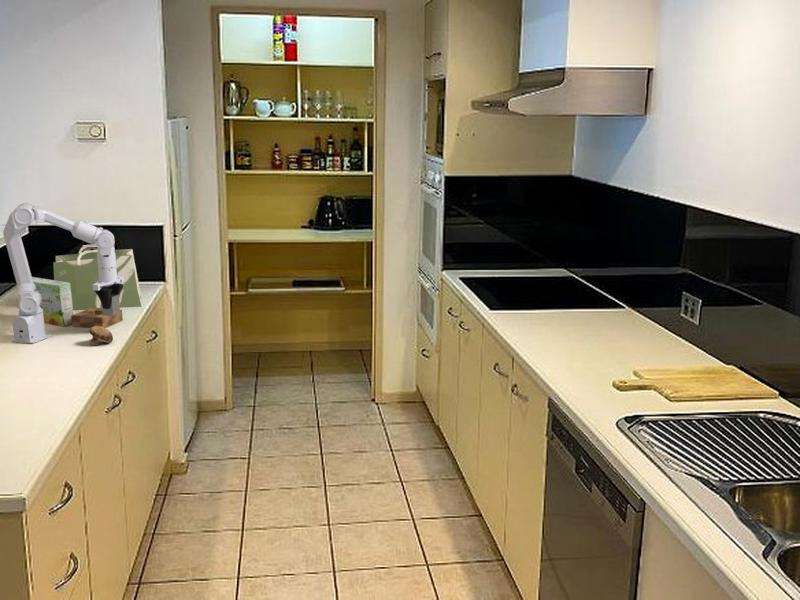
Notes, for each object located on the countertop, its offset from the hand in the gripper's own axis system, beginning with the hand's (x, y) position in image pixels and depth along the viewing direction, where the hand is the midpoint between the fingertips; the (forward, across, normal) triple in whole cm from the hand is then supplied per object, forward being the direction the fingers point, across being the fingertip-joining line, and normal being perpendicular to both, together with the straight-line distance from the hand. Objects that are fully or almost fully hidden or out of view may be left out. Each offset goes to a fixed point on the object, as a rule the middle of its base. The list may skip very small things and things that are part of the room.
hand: (110, 307), depth 277 cm
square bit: (+2, 0, 0) cm, 3 cm away
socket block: (+9, +9, +12) cm, 17 cm away
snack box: (+9, +6, +30) cm, 32 cm away
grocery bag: (+9, +32, +28) cm, 43 cm away
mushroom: (+9, -12, -4) cm, 16 cm away
